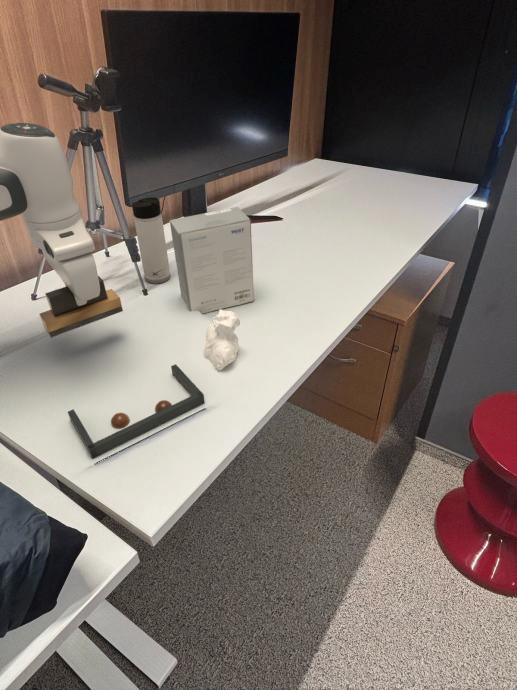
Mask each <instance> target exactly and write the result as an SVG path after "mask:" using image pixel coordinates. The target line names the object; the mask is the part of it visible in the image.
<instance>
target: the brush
mask: <svg viewBox="0 0 517 690" xmlns="http://www.w3.org/2000/svg"><path fill="white" fill-rule="evenodd" d="M98 279H99V284H100V294H99V296H98V297H95V298H93V299H90V300H87V303H86V304H84V305H81V306H78V305H77V304H76V302H75V300H74V297H73V295H74V294H73V293H72V291H71V290H70V289H69V288H68V286H64V287H60V288H57V289H54V290H51V291H49V292H48V291H47V292H45V293H44V294H45V298H46V300H47V303H48V306H49V309H48V310H46V311H43V312H40V313H38V314H39V318H40V320H41V323H42V326H43V328H44V330H45V331H46V333H47V335H48V336H49V338H51V339H52V338H54V337H57V336H59V335H62V334H64V333H68V332H70V331H74V330H76V329H79V328H81V327H84V326H87V325H90V324H93V323H95V322H98V321H101V320H103V319H106V318H108V317H111V316H113V315H116V314H119V313H121V312H124V310H123V305H122V300H121V297H120V296H119V295H118V294H117V293H116V292H115V291H114V290H113V289H112V288H109V289H106V286H105V281H104V279H102V277H100V275H98Z"/></svg>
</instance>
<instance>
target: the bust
mask: <svg viewBox="0 0 517 690" xmlns="http://www.w3.org/2000/svg"><path fill="white" fill-rule="evenodd" d="M240 323H241V320H240V318H239V316H238V314H237V313H236V312H234V311H229V310H223V309H218V314H216V315H215V316H214V317H212V322H211V323H210V324H209V326H208V328H207V329H206V333H205V345H204V348H203V357H205V359H207V360H208V361H209V362H210V363H211V364H212V365H213V367H214V369H215V370H217V371H218V372H220V371H223V370H224V369H225V368H226V367H227V366H229V364H231V363H233V362H235V361H236V360H237V357H238V352H239V351H240V345H239V338H238V335H237V334H236V333H235V330H236V328H237V327H239V326H240V325H241V324H240Z"/></svg>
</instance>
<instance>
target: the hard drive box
mask: <svg viewBox="0 0 517 690" xmlns="http://www.w3.org/2000/svg"><path fill="white" fill-rule="evenodd" d="M168 221H169V226H170V233H171V238H172V239H171V240H172V246H173V252H174V259H175V264H176V270H177V271H176V272H177V276H178V284H179V290H180V296H181V298H182V300H183V302H184V304H185V305H186V308H187V310H188V311H189V312H195V311H198V312H199V313H200V314H201V315H202V314H207V313H212V312H214V311H217V310H218V311H219V310H220V309H222V310H223V309H226V308H231V307H235V306H236V307H237V306H240V305H243V304H244V305H245V304H247V303H251V302H253V301H254V300H255V291H254V290H255V288H254V269H253V268H254V265H253V244H252V220H251V218H250V217H249V216H247V214H246V213H245V212H244V211H243V210H241V208H239V207H238V206H236V207H231V208H224V209H220V210H214V211H209V212H204V213H199V214H194V215H190V216H183V217H180V218H174V219H170V220H168Z"/></svg>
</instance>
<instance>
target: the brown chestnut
mask: <svg viewBox="0 0 517 690" xmlns="http://www.w3.org/2000/svg"><path fill="white" fill-rule="evenodd" d="M129 424H130V417H129V416H128V414H126V413H124V412H117V413H115V414H113V415H112V417H111V419H110V425H111V427H112V428H113V429H117V430H122V429H124V428H126V427H128V425H129Z"/></svg>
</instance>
